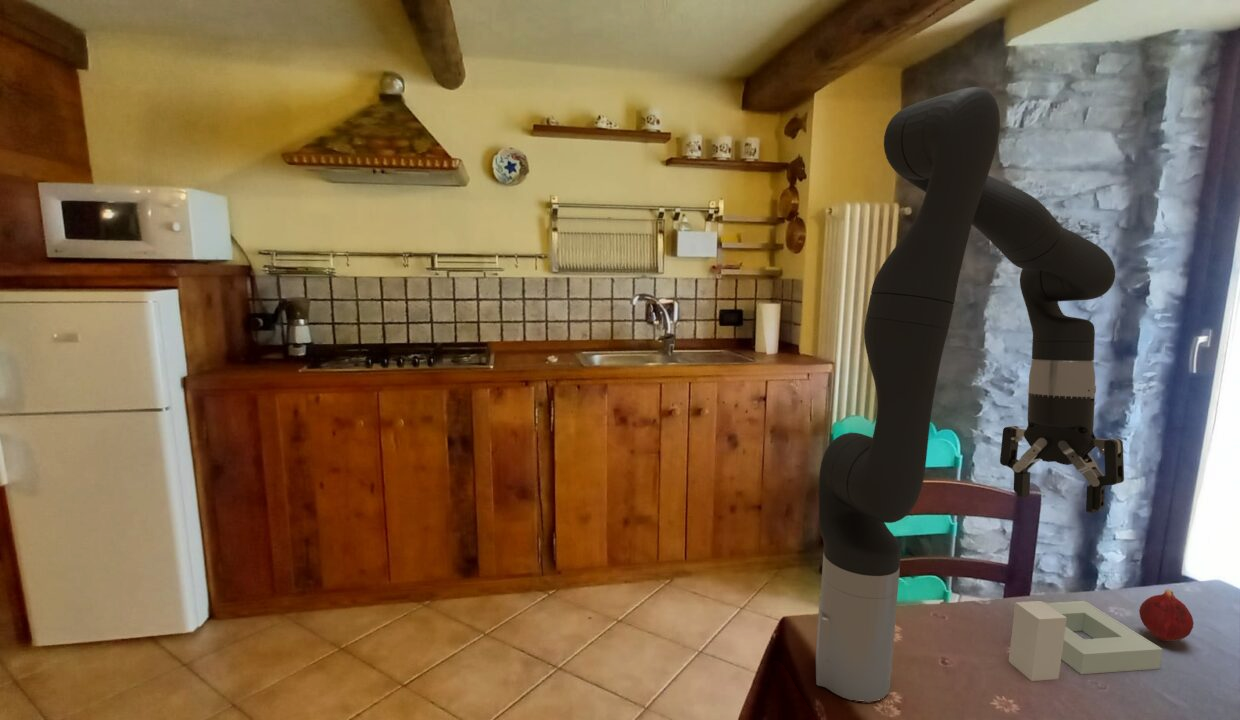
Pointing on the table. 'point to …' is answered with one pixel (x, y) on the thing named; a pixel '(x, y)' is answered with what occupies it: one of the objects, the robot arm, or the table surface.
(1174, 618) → the onion
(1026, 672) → the plug
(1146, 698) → the table surface
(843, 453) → the robot arm
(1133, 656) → the socket
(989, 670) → the table surface
